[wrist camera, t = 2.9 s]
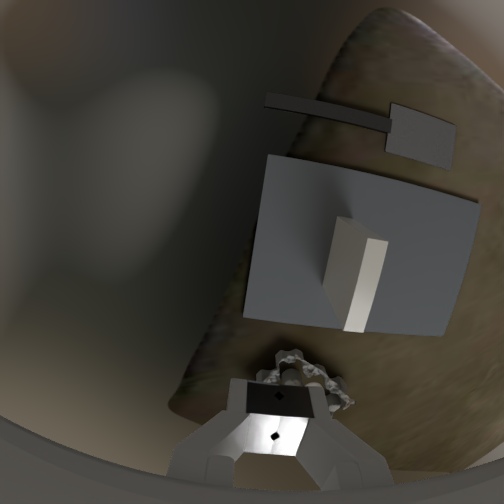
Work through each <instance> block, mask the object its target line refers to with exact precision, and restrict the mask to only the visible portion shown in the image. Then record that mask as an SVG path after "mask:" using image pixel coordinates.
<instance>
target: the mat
mask: <svg viewBox="0 0 504 504" xmlns="http://www.w3.org/2000/svg"><path fill="white" fill-rule="evenodd" d="M481 206H482V205H480V204H477V203H474V202H471V201H468V200H465V199H462V198H458V197H455V196H452V195H449V194H445V193H442V192H438V191H435V190H431V189H428V188H424V187H421V186H417V185H413V184H409V183H406V182H402V181H398V180H394V179H390V178H386V177H382V176H377V175H373V174H369V173H365V172H360V171H356V170H351V169H346V168H342V167H337V166H332V165H327V164H322V163H317V162H311V161H306V160H300V159H295V158H289V157H283V156H277V155H270V154H268V158H267V164H266V170H265V177H264V183H263V190H262V196H261V203H260V209H259V216H258V222H257V229H256V235H255V241H254V248H253V254H252V261H251V267H250V274H249V280H248V287H247V293H246V300H245V306H244V312H243V317H246V318H253V319H260V320H268V321H275V322H283V323H291V324H299V325H308V326H317V327H326V328H336V329H342V326H341V324H340V322H339V320H338V318H337V316H336V314H335V311H334V309H333V307H332V305H331V303H330V301H329V299H328V297H327V295H326V293H325V291H324V288H323V286H322V285H323V281H324V276H325V272H326V267H327V263H328V258H329V254H330V249H331V244H332V239H333V235H334V230H335V225H336V219H337V216H341V217H346V218H352V219H354V220H356V221H357V222H359V223H361V224H362V225H364V226H365V227H367V228H368V229H370V230H371V231H373V232H375V233H376V234H378V235H379V236H381V237H382V238H384V239H385V240H387V241H388V246H387V250H386V255H385V259H384V263H383V266H382V270H381V274H380V278H379V282H378V285H377V289H376V292H375V296H374V299H373V303H372V306H371V309H370V313H369V316H368V319H367V322H366V326H365V329H364V331H368V332H381V333H394V334H409V335H426V336H443V335H444V332H445V330H446V327H447V325H448V322H449V319H450V317H451V314H452V311H453V308H454V306H455V303H456V300H457V297H458V294H459V291H460V288H461V285H462V281H463V278H464V275H465V271H466V268H467V265H468V261H469V257H470V254H471V250H472V246H473V242H474V238H475V234H476V229H477V225H478V220H479V216H480V211H481Z"/></svg>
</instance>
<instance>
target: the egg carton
mask: <svg viewBox="0 0 504 504" xmlns="http://www.w3.org/2000/svg"><path fill="white" fill-rule="evenodd" d="M275 357H276V368H275V369H273V370H263V369H262V370H260V371H259V372H258V373H257V374H256V381H259V382H266V383H271V382H277V381H278V380H279V375H280V372H279V370H280V368H279V363H280V362H281V361H285V362H287V363H291V362H295V360H296V359H299V360H301V363H302V370H303V372H304V374H305V376H306V377H307V378H310V377H311V376H313V375H319V374H322V375H323V379H324V382H325V387H326V389H328V390H329V392H330V393H333V394H329V395H327V396H326V399H327V403H328V407H329V410H330V414H331V418H332V417H333V415H334V411H336V410H337V409H338V408H339V407H340V408H342V410H344V409H346V408H347V407H349V406H350V404H353V405H355V404H356V401H354V400H353V399H352V400H351V399H350V398H349V397H348V396H347V395H346V390H347V385H346V383H345V382H344V380H343V378H341V377H339V376H337V377H335V378H329V377H328V376H327V373H326V370H325V367H324V366H322V365H319V364H315V365H311V364H310V363H308V362H307V361H305V360H304V358H303V353H302V352H301V351H300V350H298V349H294V350H292V351H283V350H280V351H279V352H278V353H277V354H276V355H275ZM281 381H282V385H294V386H303V383H302V378H301V374H300V372H299V371H298V370H296V369H287V370H285V371H284V372H283V373H282V375H281ZM305 386H320V387H321V385H320V384H319V383H317V382H310V383H307V384H306V385H305ZM335 393H337V394H335Z"/></svg>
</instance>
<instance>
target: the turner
mask: <svg viewBox="0 0 504 504" xmlns="http://www.w3.org/2000/svg"><path fill="white" fill-rule="evenodd" d="M264 108H269V109H275V110H280V111H286V112H292V113H298V114H303V115H309V116H314V117H319V118H324V119H329V120H333V121H338V122H342V123H347V124H351V125H355V126H359V127H363V128H367V129H371V130H375V131H378V132H382V133H386V134H387V138H386V145H385V152H388V153H392V154H396V155H399V156H403V157H406V158H410V159H413V160H417V161H420V162H423V163H426V164H430V165H433V166H436V167H439V168H442V169H445V170H448V171H451V166H452V160H453V152H454V144H455V136H456V126H455V125H453V124H450V123H448V122H445V121H442V120H440V119H437V118H434V117H432V116H429V115H426V114H423V113H421V112H418V111H415V110H412V109H409V108H406V107H403V106H400V105H396V104H393V103H391V105H390V114H389V118H386V117H383V116H379V115H375V114H372V113H368V112H364V111H360V110H357V109H352V108H348V107H344V106H340V105H336V104H331V103H327V102H322V101H317V100H312V99H307V98H301V97H296V96H291V95H284V94H279V93H272V92H266V98H265V104H264Z"/></svg>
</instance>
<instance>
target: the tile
mask: <svg viewBox="0 0 504 504" xmlns="http://www.w3.org/2000/svg"><path fill="white" fill-rule="evenodd" d="M387 246H388V241H387V240H385V239H384V238H382V237H381V236H379V235H378V234H376V233H375V232H373V231H371V230H370V229H368V228H367V227H365V226H364V225H362V224H361V223H359V222H357V221H356V220H354V219H352V218H346V217H341V216H337V219H336V225H335V230H334V235H333V239H332V244H331V249H330V254H329V258H328V263H327V267H326V272H325V276H324V281H323V285H322V286H323V288H324V291H325V293H326V295H327V297H328V299H329V301H330V303H331V305H332V307H333V309H334V311H335V314H336V316H337V318H338V320H339V322H340V324H341V326H342V329H343V331H352V332H364V329H365V326H366V322H367V319H368V316H369V313H370V309H371V306H372V303H373V299H374V296H375V292H376V289H377V285H378V282H379V278H380V274H381V270H382V266H383V263H384V259H385V255H386V250H387Z"/></svg>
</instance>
